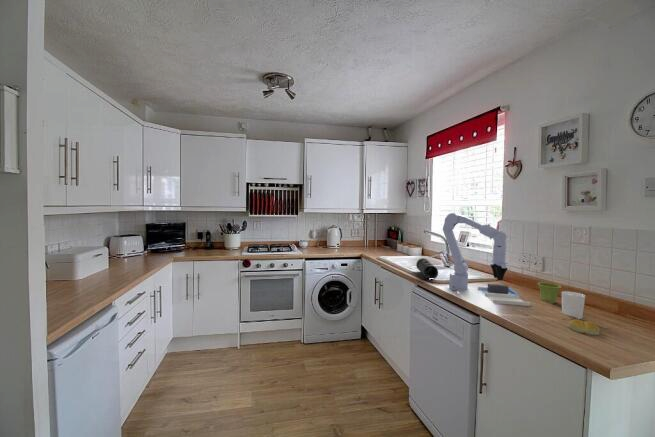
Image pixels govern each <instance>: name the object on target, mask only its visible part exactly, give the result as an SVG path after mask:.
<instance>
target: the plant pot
mask: <svg viewBox="0 0 655 437" xmlns="http://www.w3.org/2000/svg"><path fill="white" fill-rule="evenodd" d="M537 284H538V287H539V293H540V295H539V296H540V300H542V301H545V302H548V303H549V304H557V300H558V295H559V291H560V289H561V288H562V286H561V285H559V284H557V283H556V284H554V283H550V282H537Z"/></svg>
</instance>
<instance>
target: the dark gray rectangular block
mask: <svg viewBox="0 0 655 437" xmlns="http://www.w3.org/2000/svg"><path fill="white" fill-rule="evenodd" d="M487 287H488V291H487V292H488V293H499V294H508V288H509V286H508V285H507V284H499V283H498V284H497V283H496V284H495V283H487Z"/></svg>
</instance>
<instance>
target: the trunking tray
mask: <svg viewBox="0 0 655 437" xmlns="http://www.w3.org/2000/svg"><path fill="white" fill-rule="evenodd" d="M477 290H478V291H479V292H480V293H482V294H483V295H484V296H485V297H486V298H487V299H488V300H490V301H491V302H492V303H493V304H499V305H501V304H502V305H512V306H523V307H524V306H525V307H526V306H527V307H532V305H531V304H532V303H531V302H530V301H524V300H522V299H521V298H520V294H519V293H518V292H516V291H515V290H513V289H512V288H509V287H508V294H499V293H488V292H487V291H488V286H477Z"/></svg>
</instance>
